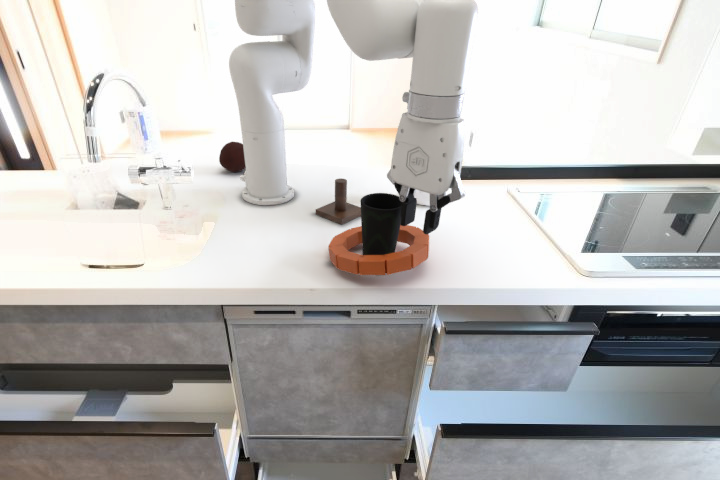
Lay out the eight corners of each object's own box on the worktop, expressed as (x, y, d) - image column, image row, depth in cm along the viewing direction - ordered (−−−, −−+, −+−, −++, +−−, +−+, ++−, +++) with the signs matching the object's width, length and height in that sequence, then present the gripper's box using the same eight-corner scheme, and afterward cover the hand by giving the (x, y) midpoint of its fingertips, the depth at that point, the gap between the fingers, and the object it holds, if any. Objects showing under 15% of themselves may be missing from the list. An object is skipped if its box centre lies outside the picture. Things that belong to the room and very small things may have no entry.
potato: (259, 171, 123) (256, 142, 119) (230, 179, 118) (226, 148, 113) (242, 164, 128) (239, 135, 123) (214, 171, 123) (209, 141, 118)
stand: (315, 214, 101) (314, 180, 96) (338, 204, 106) (339, 171, 101) (342, 224, 97) (342, 189, 92) (365, 213, 102) (366, 180, 97)
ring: (311, 261, 83) (309, 248, 81) (371, 230, 93) (370, 218, 92) (389, 284, 72) (388, 269, 70) (447, 245, 82) (447, 232, 81)
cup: (395, 275, 80) (402, 211, 73) (354, 270, 81) (357, 207, 74) (399, 255, 86) (406, 194, 79) (361, 251, 87) (364, 191, 80)
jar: (402, 202, 107) (407, 150, 100) (410, 191, 113) (416, 141, 106) (439, 208, 105) (447, 155, 97) (445, 196, 111) (454, 146, 103)
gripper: (371, 101, 65) (365, 219, 76) (475, 121, 56) (450, 251, 68) (401, 94, 69) (391, 207, 81) (501, 111, 61) (474, 235, 72)
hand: (418, 226), depth 74 cm, fingers open, 3 cm apart
